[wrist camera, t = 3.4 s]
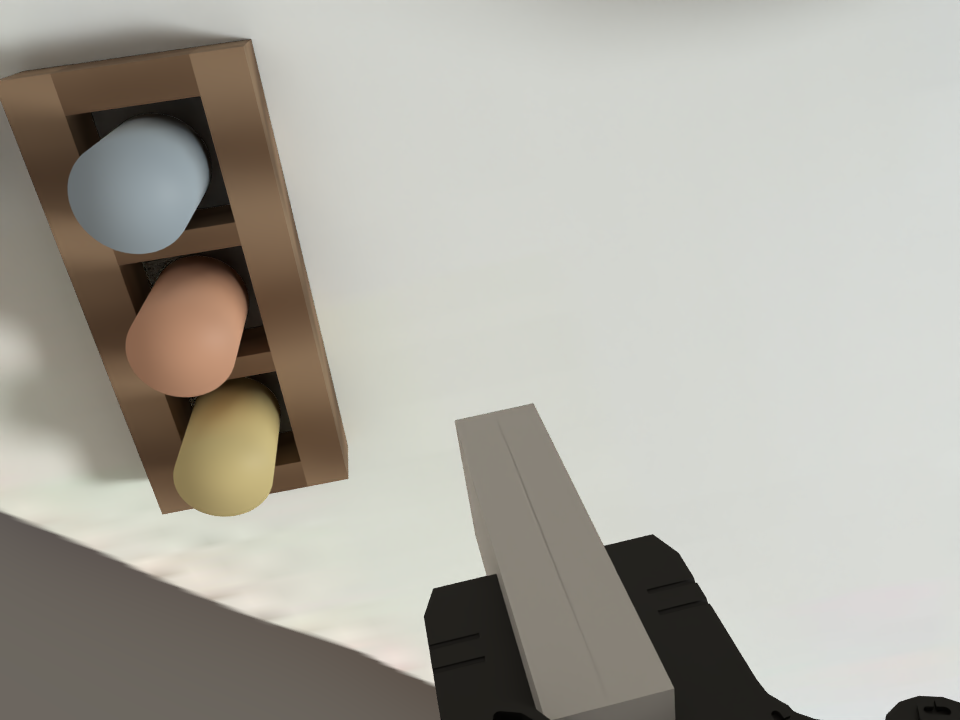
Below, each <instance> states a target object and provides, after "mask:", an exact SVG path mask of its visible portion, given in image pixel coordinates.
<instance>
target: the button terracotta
mask: <svg viewBox="0 0 960 720" xmlns="http://www.w3.org/2000/svg"><path fill="white" fill-rule="evenodd" d="M248 309H249V294H248V290H247V287H246V285H245V283H244V281H243V279H242V278H241V276H240V275H239V274H238V273H237V272H236V271H235V270H234V269H233V268H232V267H230V266H229V265H227V264H226V263H224V262H222V261H220V260H218V259H215V258H211V257H207V256H188V257H184V258H181V259H178V260H176V261H174V262H172V263H171V264H170V265H168V266H167V267H166V268H165V269H164V270H163V271H162V272H161V274H160V275H159V277H158V279H157V281H156V282H155V284H154V286H153V288H152V290H151V291H150V293H149V295H148V297H147V298H146V300H145V302H144V304H143V306H142V307H141V309H140V311H139V313H138V315H137V316H136V318H135V320H134V322H133V323H132V325H131V327H130V329H129V331H128V334H127V337H126V348H125V349H126V355H127V359H128V362H129V364H130V366H131V368H132V369H133V371H134V373H135V374H136V375H137V376H138V377H139V378H140V379H141V380H142V381H143V382H144V383H145V384H147V385H148V386H149V387H151V388H153V389H155V390H157V391H159V392H161V393H164V394H167V395H171V396H176V397H194V396H199V395H203V394H206V393H209V392H211V391H213V390H215V389H216V388H218V387H219V386H221V385H222V384H223V383H224V382H225V381H226V380H227V378H228V377H229V376H230V374H231V372H232V370H233V368H234V364H235V361H236V357H237V353H238V349H239V345H240V341H241V337H242V333H243V329H244V325H245V321H246V317H247V313H248Z"/></svg>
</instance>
